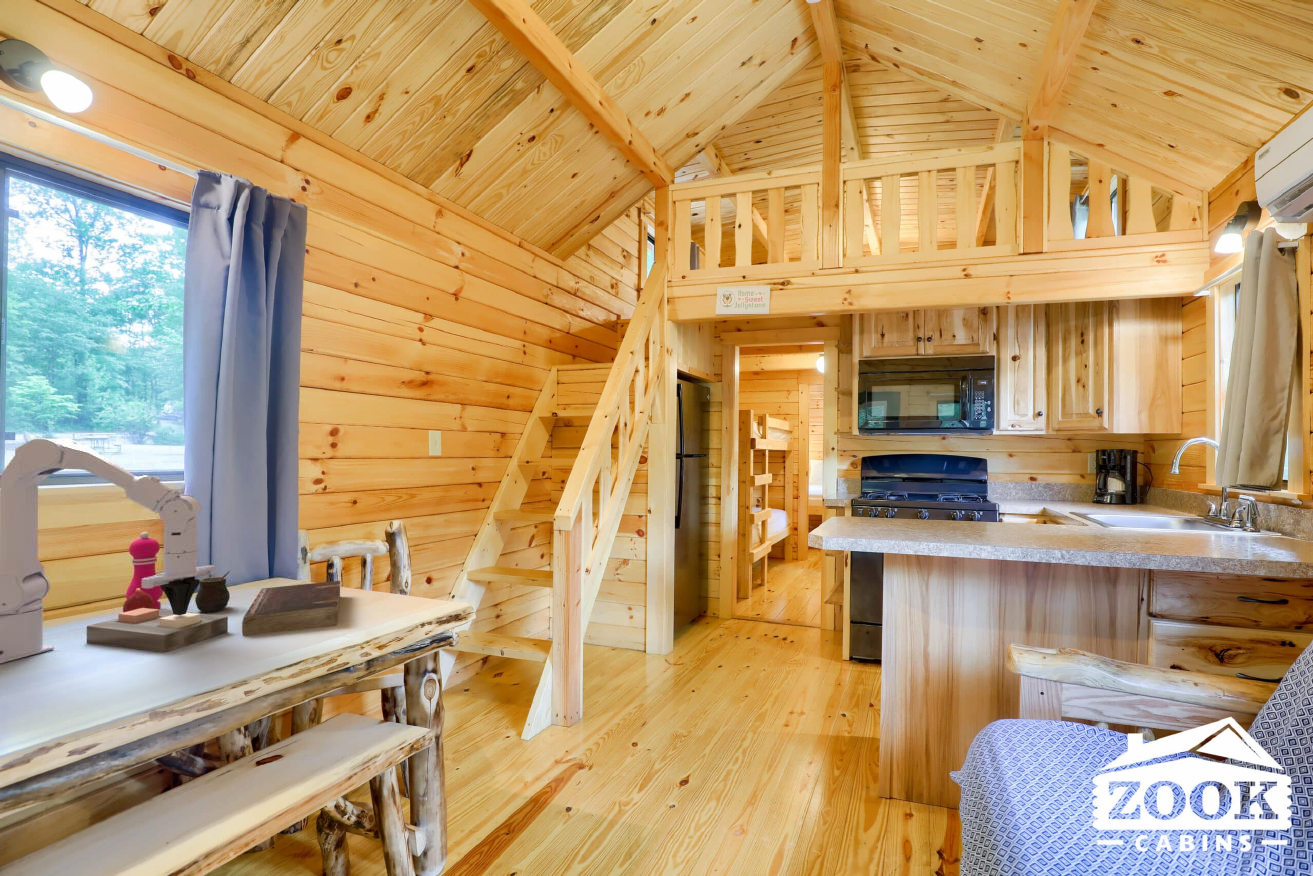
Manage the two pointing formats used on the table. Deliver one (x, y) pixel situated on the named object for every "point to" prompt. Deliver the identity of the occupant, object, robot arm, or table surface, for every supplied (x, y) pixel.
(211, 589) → the mate gourd
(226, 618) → the key bed
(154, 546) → the pepper mill
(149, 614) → the terracotta key
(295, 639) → the table surface
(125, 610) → the onion
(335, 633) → the table surface
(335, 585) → the hardback book
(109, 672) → the table surface
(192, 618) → the cream key
